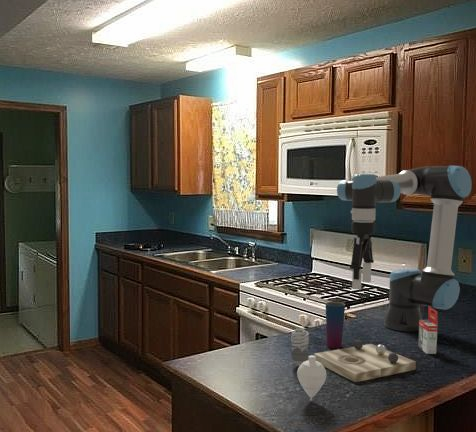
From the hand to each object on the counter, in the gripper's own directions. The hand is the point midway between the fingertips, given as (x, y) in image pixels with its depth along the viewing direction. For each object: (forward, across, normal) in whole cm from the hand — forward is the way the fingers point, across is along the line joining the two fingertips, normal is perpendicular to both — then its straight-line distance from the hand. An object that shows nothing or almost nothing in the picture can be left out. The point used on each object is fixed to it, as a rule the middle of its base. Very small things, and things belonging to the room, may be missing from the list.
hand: (361, 285), depth 176 cm
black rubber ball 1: (+20, +1, 0) cm, 20 cm away
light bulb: (+24, +19, -14) cm, 34 cm away
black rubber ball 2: (+20, +9, +12) cm, 25 cm away
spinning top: (+24, +42, -3) cm, 49 cm away
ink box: (+24, -17, +19) cm, 35 cm away
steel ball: (+20, +3, +7) cm, 21 cm away
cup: (+24, -6, -11) cm, 27 cm away
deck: (+24, +8, +3) cm, 25 cm away
